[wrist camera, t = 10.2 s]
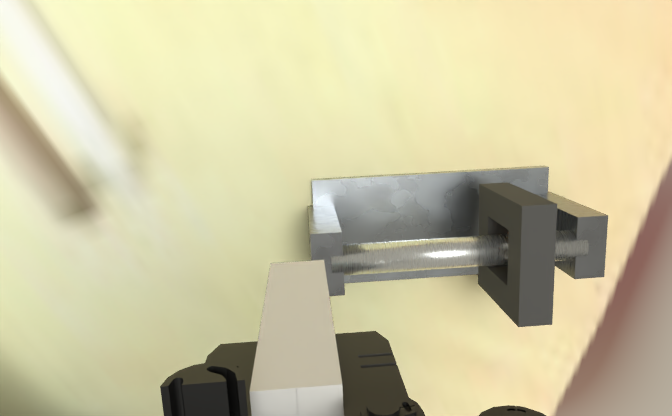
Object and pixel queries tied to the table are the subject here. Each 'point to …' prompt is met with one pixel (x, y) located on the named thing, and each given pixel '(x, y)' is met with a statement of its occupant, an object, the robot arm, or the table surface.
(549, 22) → the table surface
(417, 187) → the pipe rig
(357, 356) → the robot arm
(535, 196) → the ring
